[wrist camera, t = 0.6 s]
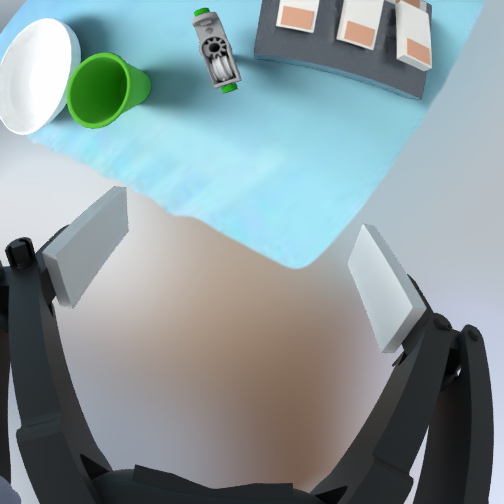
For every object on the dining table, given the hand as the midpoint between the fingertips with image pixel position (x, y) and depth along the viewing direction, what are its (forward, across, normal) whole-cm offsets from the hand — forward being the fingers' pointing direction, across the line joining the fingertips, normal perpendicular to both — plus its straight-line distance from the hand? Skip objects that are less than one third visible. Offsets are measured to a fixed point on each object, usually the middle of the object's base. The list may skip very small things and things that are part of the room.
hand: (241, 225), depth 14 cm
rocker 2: (+18, +9, +20) cm, 28 cm away
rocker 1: (+18, +2, +20) cm, 27 cm away
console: (+25, +9, +20) cm, 34 cm away
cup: (+26, -18, +7) cm, 32 cm away
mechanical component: (+26, -5, +11) cm, 28 cm away
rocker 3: (+18, +16, +20) cm, 31 cm away
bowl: (+26, -36, +11) cm, 45 cm away
